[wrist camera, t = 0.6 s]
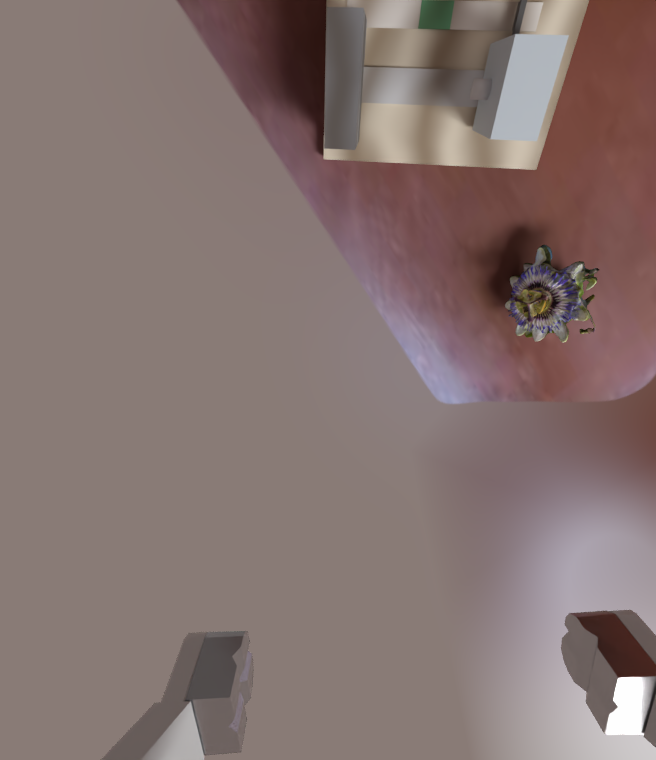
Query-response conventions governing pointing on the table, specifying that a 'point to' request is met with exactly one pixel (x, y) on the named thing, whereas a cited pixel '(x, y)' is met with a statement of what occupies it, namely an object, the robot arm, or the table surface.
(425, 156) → the bench
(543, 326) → the passion flower
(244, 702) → the robot arm
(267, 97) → the table surface
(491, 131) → the gauge slider
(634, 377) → the table surface
